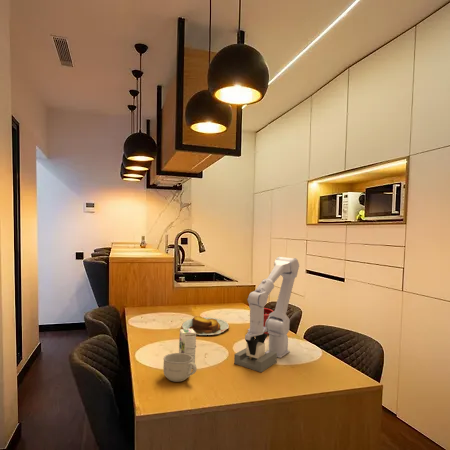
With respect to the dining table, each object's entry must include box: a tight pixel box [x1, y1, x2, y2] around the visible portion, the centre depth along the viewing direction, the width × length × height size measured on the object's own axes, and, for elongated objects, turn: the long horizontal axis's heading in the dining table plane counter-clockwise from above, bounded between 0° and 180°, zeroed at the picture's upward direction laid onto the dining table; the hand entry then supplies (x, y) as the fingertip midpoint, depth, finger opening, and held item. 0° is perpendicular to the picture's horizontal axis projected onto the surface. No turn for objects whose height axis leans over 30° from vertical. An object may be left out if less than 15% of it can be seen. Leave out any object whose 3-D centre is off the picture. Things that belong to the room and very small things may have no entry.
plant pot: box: [263, 307, 274, 335], centre depth 181 cm, size 13×13×12 cm
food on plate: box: [181, 316, 230, 336], centre depth 184 cm, size 26×26×7 cm
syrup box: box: [178, 328, 197, 369], centre depth 136 cm, size 6×6×14 cm
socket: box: [233, 347, 278, 373], centre depth 141 cm, size 13×13×4 cm
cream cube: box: [245, 342, 266, 359], centre depth 141 cm, size 5×6×6 cm
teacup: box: [163, 352, 197, 383], centre depth 125 cm, size 14×11×8 cm
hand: (255, 352), depth 141 cm, fingers closed on cream cube, 5 cm apart
